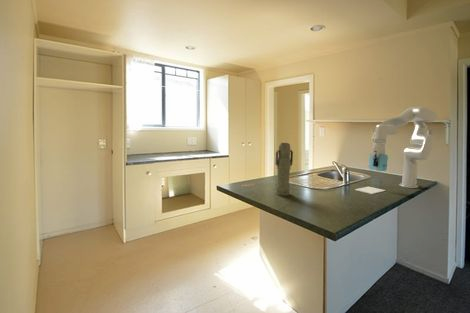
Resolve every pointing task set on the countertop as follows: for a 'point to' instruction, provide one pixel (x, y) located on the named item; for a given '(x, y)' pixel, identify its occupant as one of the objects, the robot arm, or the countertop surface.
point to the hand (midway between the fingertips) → (377, 165)
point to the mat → (370, 190)
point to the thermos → (283, 169)
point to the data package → (379, 162)
